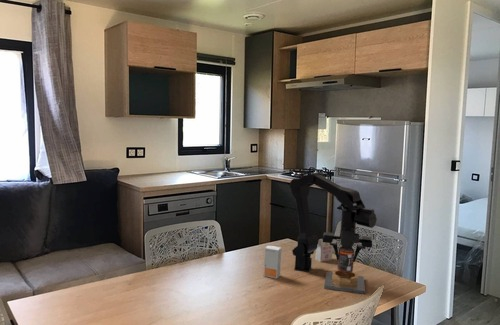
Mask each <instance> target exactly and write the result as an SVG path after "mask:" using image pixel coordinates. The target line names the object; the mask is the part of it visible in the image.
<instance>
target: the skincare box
mask: <svg viewBox="0 0 500 325" xmlns="http://www.w3.org/2000/svg"><path fill="white" fill-rule="evenodd" d="M263 260H264V261H263V275H262V276H263V277H268V278H272V279H276V280H277V279H278V278H279V277H280V275H281V266H282V264H281V262H282V247H280V246H275V245H274V246H273V245H267V246H265V248H264V258H263Z"/></svg>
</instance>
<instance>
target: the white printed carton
mask: <svg viewBox="0 0 500 325" xmlns="http://www.w3.org/2000/svg"><path fill="white" fill-rule="evenodd" d="M317 241H318V244H317V249H316V250H315V257H314V259H315V260H316V261H318V262H320V263H322V262H327V261H332V260H333V259H332V258H333V246H332V245H330V243H325V242H323V238H320V239H318V240H317Z"/></svg>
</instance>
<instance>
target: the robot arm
mask: <svg viewBox="0 0 500 325" xmlns="http://www.w3.org/2000/svg"><path fill="white" fill-rule="evenodd" d="M311 186H317V187H318V188H321V189H322V190H324V191H326V192H327V193H328V194H330V195H332V196H334V197H335V199H336V200H337V201H338V202H339V203H340V205H338V206H337V207H336V209H338V210H339V211H341V216H340V217H341V218H340V232H339V235H334V232H327V231H325V232H323V235H322V239H323V242H325V243H330V245H332V249H333V250H334V253H335V258H336V260H337V261H338V254H339V244H338V243H339V242H340V245H341V246H342V245H343V246H344V245H347V246H352V247H354V245H355V248H354V249H355V250H354V261H353V263H355V262H356V260H357V257H358V254H359V253H360V251H361V250H363V249H365V248H369V249H372V248H373V238H372V236H364V235H361V238H360V233H357V232H356V227H357V225H358V226H362V227H365V228H370V229H373V228H374V227H375V225H377V224H376V223H377V220H378V219H377V215H376V213H375V210H374V209H371V208H366V205H365V204H364V202H363V200H362V198H361V195H360V192H359V191H358V190H356V189H353V188H350V187H345V186H341V185H340V184H337V183H336V182H334V181H332V180H330V179H328V178H326V177H325V176H322V175H321V174H320V173H318V172H314V173H312V172H311V173H308V174H307V175H305V176H302V177H296V178H292V180H291V181H289V189H290V192H291V194H292V196H293V198H294V199H295V205H296V212H297V220H298V221H297V222H298V227H299V234H298V236H297V246H295V247H294V248H293V249H292V250H291V252H292V255H293V256H294V257H295V260H294V268H293V269H294V271H302V272H310V270H311V269H312V264H313V262H312V261H313V258H312V255H313V254H314V253H315V252H316V249H317V244H318V241H319V240H318V235H317V234H314V233H313V231H312V226H311V219H310V218H311V217H310V211H309V203H308V197H309V194H310V187H311Z"/></svg>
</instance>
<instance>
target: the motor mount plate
mask: <svg viewBox="0 0 500 325" xmlns="http://www.w3.org/2000/svg"><path fill="white" fill-rule="evenodd" d="M323 286H324V287H323V288H324V289H325V290H326V289H327V290H333V291H341V292H348V293H354V294H355V293H356V294H362V295H365V292H366V289H365V288H366V287H365V276H363V275H358V273H357V272H355V271H352V272H350V273H344V272H340V271H339V270H338V269H335V270H332V272H331V271H326V273H325V278H324V284H323Z"/></svg>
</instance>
